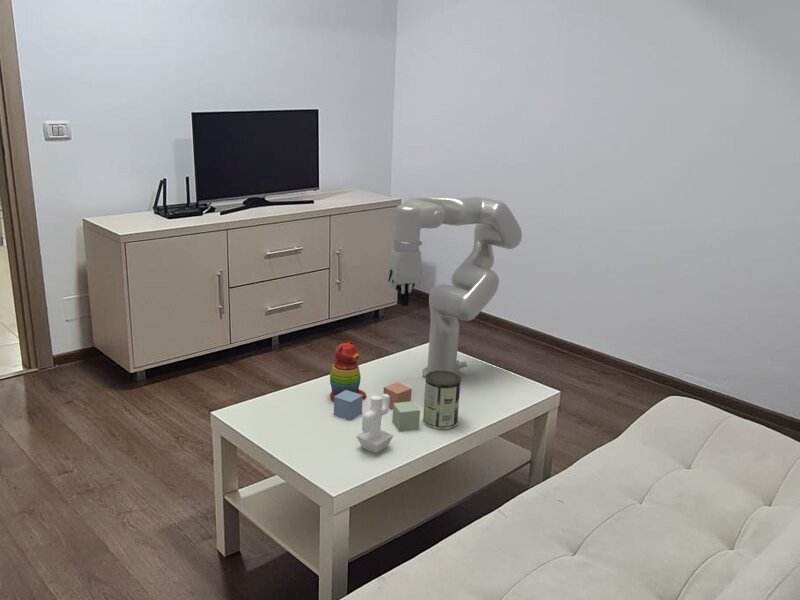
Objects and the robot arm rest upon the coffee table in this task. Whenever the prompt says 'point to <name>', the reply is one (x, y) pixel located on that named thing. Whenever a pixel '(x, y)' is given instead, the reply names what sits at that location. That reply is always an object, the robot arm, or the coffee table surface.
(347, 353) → the stacking bear
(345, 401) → the slate block
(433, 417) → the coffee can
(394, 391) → the terracotta block
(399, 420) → the sage block
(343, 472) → the coffee table surface
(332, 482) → the coffee table surface
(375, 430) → the figurine
